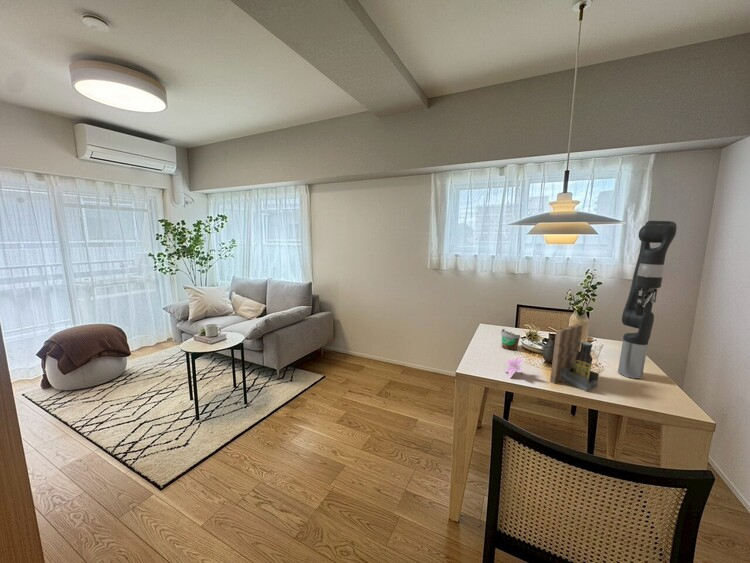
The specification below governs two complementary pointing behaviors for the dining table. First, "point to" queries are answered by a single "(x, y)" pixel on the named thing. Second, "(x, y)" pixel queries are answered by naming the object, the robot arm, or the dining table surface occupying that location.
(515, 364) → the lily
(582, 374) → the sauce bottle
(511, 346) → the food container
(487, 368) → the dining table surface
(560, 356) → the wavy bookend stand
